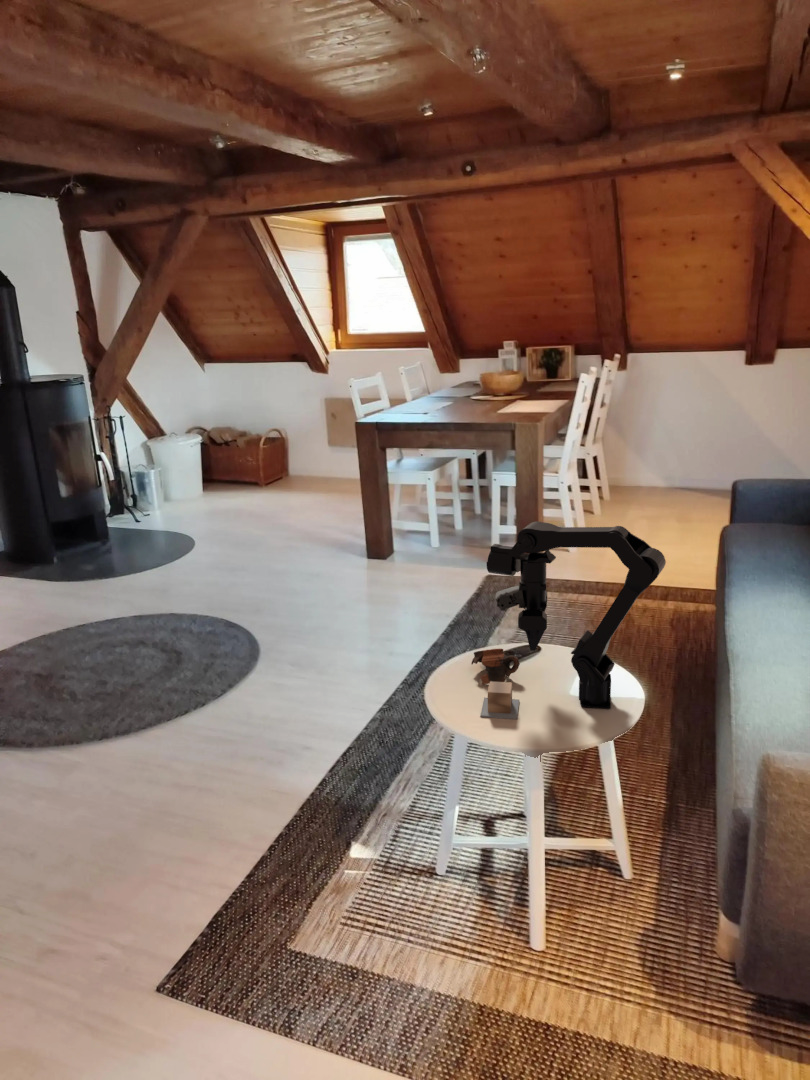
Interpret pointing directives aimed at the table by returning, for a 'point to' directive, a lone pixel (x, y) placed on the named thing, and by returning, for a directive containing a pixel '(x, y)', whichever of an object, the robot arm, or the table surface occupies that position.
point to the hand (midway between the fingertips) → (533, 641)
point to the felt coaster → (500, 715)
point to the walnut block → (500, 697)
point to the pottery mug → (495, 665)
